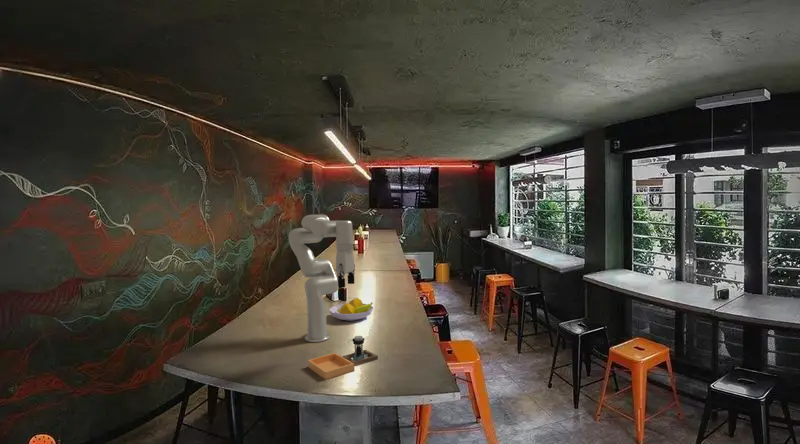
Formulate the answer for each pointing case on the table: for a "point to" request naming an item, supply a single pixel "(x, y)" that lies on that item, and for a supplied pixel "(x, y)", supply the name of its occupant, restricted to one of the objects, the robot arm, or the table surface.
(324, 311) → the robot arm
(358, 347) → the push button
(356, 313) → the fruit bowl
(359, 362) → the component holder
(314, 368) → the parts tray
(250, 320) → the table surface
